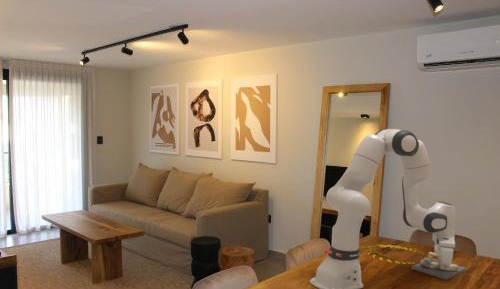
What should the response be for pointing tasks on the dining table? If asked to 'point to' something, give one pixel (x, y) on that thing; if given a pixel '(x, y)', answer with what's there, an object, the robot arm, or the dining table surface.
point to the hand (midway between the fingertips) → (441, 268)
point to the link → (436, 265)
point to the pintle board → (437, 272)
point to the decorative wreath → (391, 257)
